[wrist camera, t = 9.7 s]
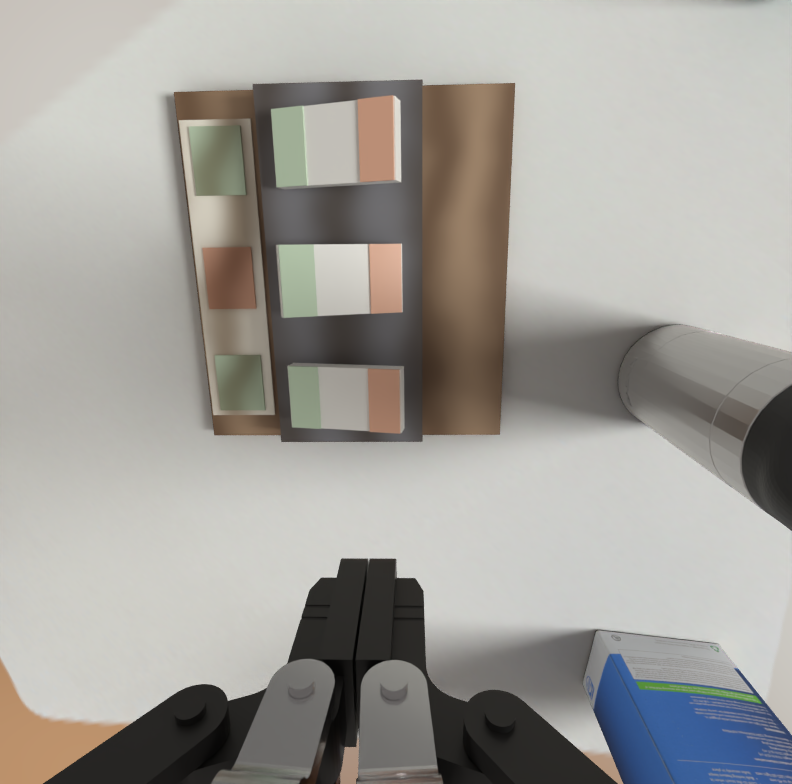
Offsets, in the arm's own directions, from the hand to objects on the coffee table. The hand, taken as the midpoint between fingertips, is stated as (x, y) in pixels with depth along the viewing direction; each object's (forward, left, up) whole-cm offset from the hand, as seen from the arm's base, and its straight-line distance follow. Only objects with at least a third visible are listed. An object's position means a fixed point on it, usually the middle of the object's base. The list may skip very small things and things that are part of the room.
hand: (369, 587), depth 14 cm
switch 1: (+4, -16, -26) cm, 31 cm away
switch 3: (+4, +2, -26) cm, 26 cm away
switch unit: (+4, -7, -32) cm, 33 cm away
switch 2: (+4, -7, -26) cm, 27 cm away
